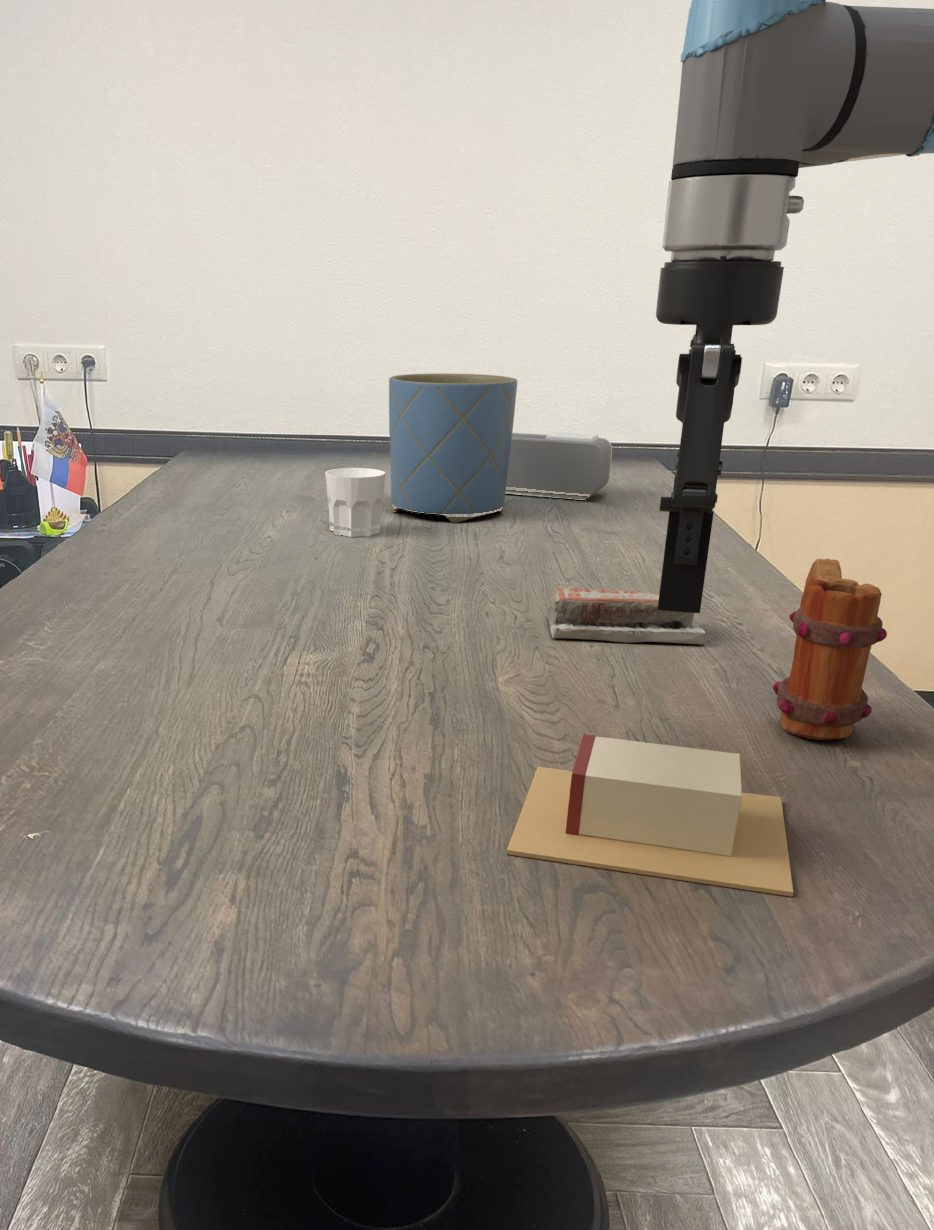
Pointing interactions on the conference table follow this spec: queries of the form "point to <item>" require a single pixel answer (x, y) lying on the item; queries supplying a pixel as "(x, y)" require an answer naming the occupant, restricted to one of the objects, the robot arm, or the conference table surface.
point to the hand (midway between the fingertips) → (680, 585)
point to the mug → (830, 655)
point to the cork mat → (748, 868)
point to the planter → (450, 442)
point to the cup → (355, 499)
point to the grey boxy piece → (618, 617)
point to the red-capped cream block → (655, 794)
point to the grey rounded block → (559, 463)
